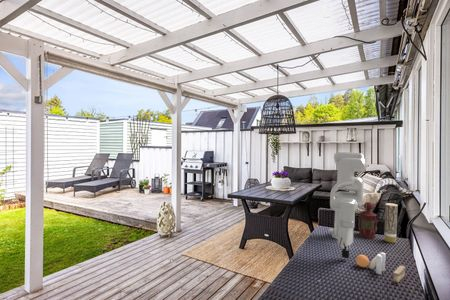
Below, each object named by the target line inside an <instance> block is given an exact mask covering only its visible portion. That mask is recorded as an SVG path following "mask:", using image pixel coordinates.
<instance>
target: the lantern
mask: <svg viewBox="0 0 450 300" xmlns="http://www.w3.org/2000/svg"><path fill="white" fill-rule="evenodd" d="M368 195H369V199H371V198H372V194H371V193H367V194H366V195H365V198H366V200H368ZM363 208H364V209H365V210H363V211H359V216H358V218H357V219H358V223H357V224H358V225H357V226H358V230H359V232H358V236H360V237H361V238H364V239H371V240H372V239H373V240H374V239H375V238H376V232H377V230H378V226H377V223H378V219H377V218H376V217H377V216H378V215H377V213H374V212H373V211H372V209H373V204H372V202H371V201H365V202H364V204H363Z"/></svg>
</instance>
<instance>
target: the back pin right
mask: <svg viewBox="0 0 450 300" xmlns="http://www.w3.org/2000/svg"><path fill="white" fill-rule="evenodd" d="M376 256H377V257H376ZM376 256H375V257H376V265H375V273H376V274H378V275H382V274H383V273H382V272H383V271H382V256H381V255H378V254H376Z"/></svg>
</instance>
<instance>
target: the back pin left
mask: <svg viewBox="0 0 450 300" xmlns="http://www.w3.org/2000/svg"><path fill="white" fill-rule="evenodd" d="M379 254H380V255H382V256H383V258H382V272H385V270H386V256H387V255H386V253H385V252H382V251H381V252H380V253H379Z"/></svg>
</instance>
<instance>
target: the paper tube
mask: <svg viewBox="0 0 450 300" xmlns="http://www.w3.org/2000/svg"><path fill="white" fill-rule="evenodd" d="M398 206H399V205H398V204H396V203H390V202H389V203H388V202H387V203H385V211H384V231H383V232H384V234H383V235H384V237H383V239H384V241H385V242H387V243H391V244H394V243H397V230H398V229H397V228H398V227H397V226H398Z"/></svg>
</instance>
